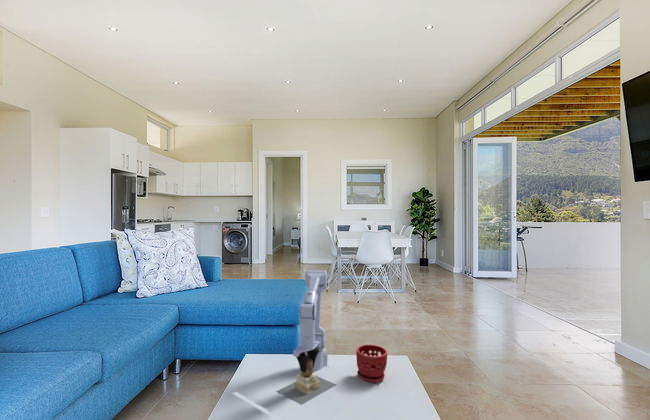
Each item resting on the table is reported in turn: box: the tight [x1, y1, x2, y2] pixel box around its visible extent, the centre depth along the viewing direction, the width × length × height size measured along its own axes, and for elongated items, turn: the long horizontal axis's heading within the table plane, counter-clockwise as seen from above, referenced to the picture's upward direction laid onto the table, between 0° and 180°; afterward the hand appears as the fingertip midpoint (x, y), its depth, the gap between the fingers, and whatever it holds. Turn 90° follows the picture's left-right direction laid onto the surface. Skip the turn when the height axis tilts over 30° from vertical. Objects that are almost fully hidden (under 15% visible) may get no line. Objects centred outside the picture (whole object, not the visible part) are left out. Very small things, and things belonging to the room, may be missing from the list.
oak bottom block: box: [294, 381, 320, 394], centre depth 133 cm, size 7×7×2 cm
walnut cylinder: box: [300, 358, 314, 376], centre depth 134 cm, size 4×4×5 cm
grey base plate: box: [275, 376, 337, 405], centre depth 133 cm, size 20×14×1 cm
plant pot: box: [355, 344, 388, 384], centre depth 144 cm, size 13×13×12 cm
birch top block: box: [296, 372, 319, 387], centre depth 133 cm, size 6×6×2 cm
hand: (307, 369), depth 133 cm, fingers closed on walnut cylinder, 4 cm apart
